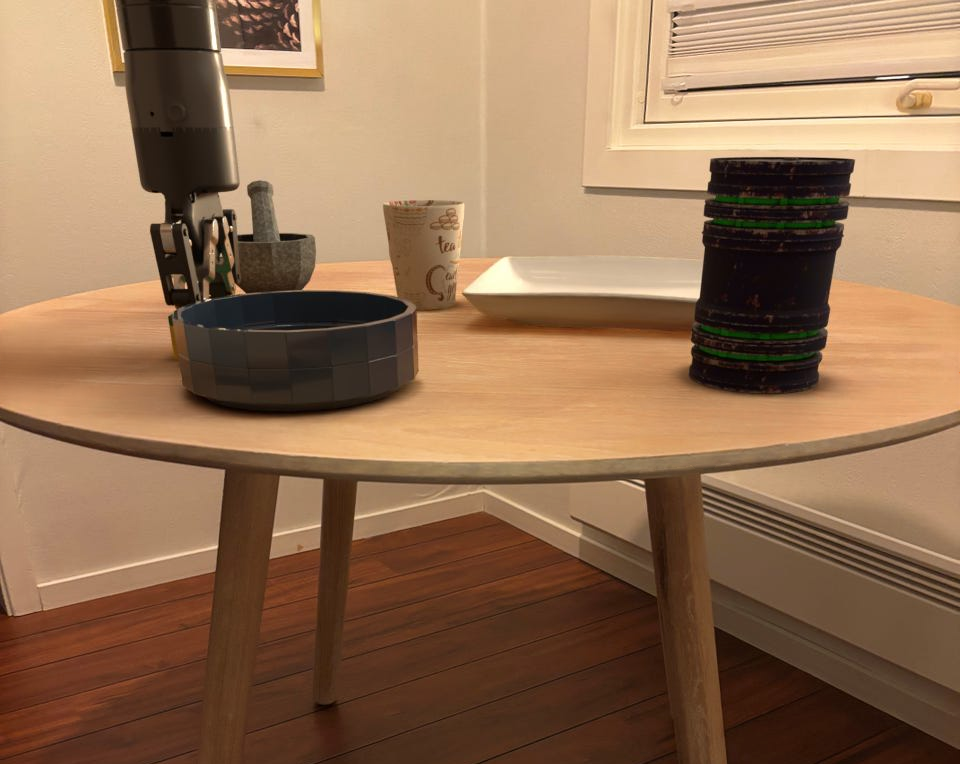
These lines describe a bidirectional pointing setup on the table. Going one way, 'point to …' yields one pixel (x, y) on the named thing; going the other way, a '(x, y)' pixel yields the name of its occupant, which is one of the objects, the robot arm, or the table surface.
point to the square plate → (591, 291)
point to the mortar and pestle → (272, 249)
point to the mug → (425, 250)
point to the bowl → (297, 348)
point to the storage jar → (768, 271)
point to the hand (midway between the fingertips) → (213, 348)
